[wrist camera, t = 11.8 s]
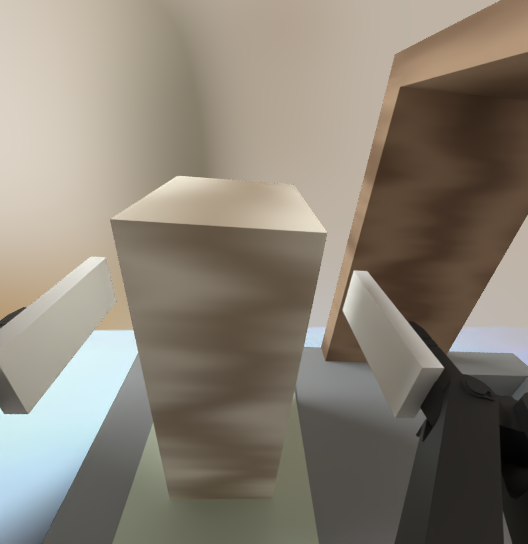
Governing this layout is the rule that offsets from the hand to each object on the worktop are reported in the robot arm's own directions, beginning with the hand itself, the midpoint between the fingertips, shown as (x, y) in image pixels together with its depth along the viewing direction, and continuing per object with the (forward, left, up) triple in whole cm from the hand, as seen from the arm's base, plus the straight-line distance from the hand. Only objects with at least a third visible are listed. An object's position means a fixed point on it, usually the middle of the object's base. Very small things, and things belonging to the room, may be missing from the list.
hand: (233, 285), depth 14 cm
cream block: (0, -3, -8) cm, 9 cm away
